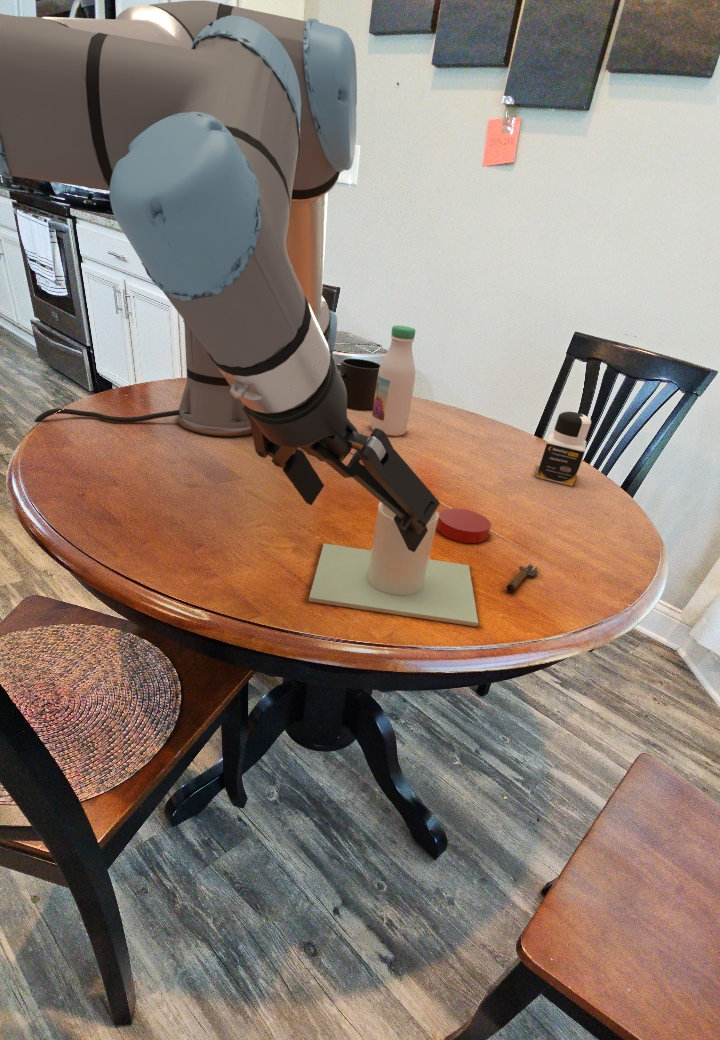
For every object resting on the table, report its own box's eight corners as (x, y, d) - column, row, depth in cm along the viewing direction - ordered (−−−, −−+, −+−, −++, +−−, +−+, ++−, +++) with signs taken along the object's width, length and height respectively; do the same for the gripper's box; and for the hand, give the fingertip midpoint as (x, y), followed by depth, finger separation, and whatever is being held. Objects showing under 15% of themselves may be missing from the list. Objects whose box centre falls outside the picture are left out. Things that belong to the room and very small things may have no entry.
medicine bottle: (535, 477, 114) (555, 414, 107) (539, 466, 119) (558, 406, 112) (572, 486, 112) (595, 423, 105) (574, 475, 118) (596, 414, 111)
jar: (365, 590, 71) (378, 505, 64) (368, 562, 77) (381, 481, 70) (423, 599, 71) (443, 515, 64) (422, 570, 77) (440, 490, 70)
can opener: (512, 594, 76) (514, 586, 75) (496, 586, 77) (498, 578, 76) (541, 572, 82) (543, 565, 81) (526, 565, 83) (528, 558, 82)
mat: (308, 601, 68) (309, 597, 68) (323, 546, 80) (323, 542, 79) (477, 627, 69) (478, 622, 68) (468, 568, 80) (469, 565, 80)
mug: (320, 400, 138) (324, 358, 133) (360, 397, 145) (365, 358, 139) (343, 412, 132) (348, 369, 127) (384, 409, 139) (390, 368, 134)
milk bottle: (406, 428, 129) (423, 327, 117) (405, 439, 123) (423, 333, 111) (371, 422, 129) (385, 321, 117) (368, 433, 123) (383, 327, 111)
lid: (498, 536, 90) (501, 525, 89) (464, 547, 85) (467, 536, 84) (459, 515, 94) (462, 504, 93) (425, 525, 90) (428, 513, 88)
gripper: (145, 372, 48) (259, 503, 67) (398, 473, 38) (447, 593, 57) (195, 300, 49) (294, 450, 68) (457, 380, 39) (485, 530, 58)
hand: (364, 516), depth 63 cm, fingers open, 13 cm apart
